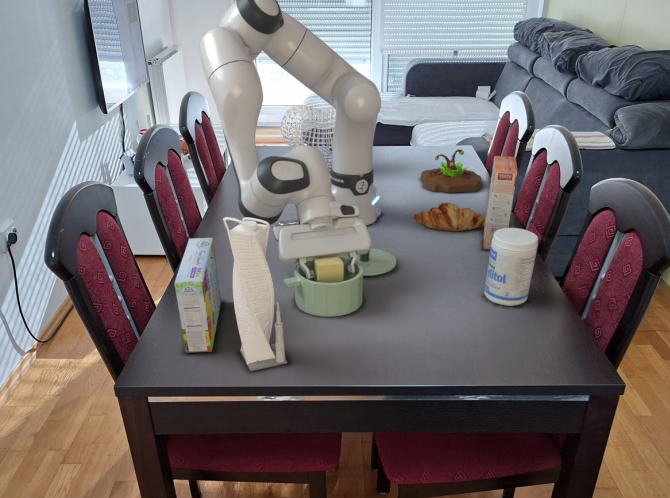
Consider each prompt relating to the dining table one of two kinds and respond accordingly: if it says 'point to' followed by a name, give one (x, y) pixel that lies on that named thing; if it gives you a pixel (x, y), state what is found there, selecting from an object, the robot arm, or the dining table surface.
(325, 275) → the butter
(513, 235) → the supplement tub
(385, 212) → the dining table surface
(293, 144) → the heart
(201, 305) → the snack box
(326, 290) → the pot
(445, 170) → the plant
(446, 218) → the croissant
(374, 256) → the pot lid
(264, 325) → the skyscraper
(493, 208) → the cracker box
